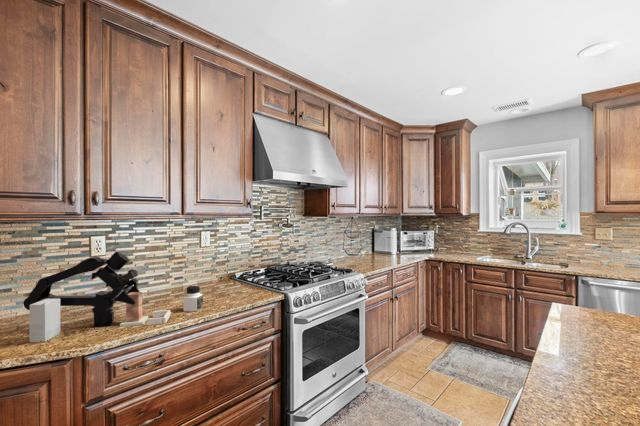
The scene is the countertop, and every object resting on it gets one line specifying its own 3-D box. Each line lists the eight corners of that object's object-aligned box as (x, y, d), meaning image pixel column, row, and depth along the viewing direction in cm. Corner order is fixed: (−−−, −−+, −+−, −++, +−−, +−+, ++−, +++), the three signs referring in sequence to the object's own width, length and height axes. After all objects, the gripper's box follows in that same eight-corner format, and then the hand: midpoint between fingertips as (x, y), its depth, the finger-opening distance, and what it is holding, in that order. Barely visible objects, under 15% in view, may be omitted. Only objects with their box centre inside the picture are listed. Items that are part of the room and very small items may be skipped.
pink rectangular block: (126, 322, 136) (126, 295, 136) (130, 318, 141) (130, 292, 141) (138, 321, 137) (138, 294, 137) (142, 317, 142) (142, 291, 142)
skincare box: (45, 334, 125) (45, 298, 125) (61, 334, 126) (61, 297, 126) (28, 343, 117) (28, 304, 117) (45, 342, 117) (45, 303, 117)
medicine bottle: (197, 311, 153) (197, 287, 153) (183, 311, 153) (183, 287, 154) (203, 307, 160) (202, 284, 160) (189, 307, 161) (189, 284, 161)
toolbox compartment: (147, 325, 135) (147, 319, 135) (153, 316, 146) (153, 311, 146) (165, 323, 137) (165, 317, 137) (170, 314, 148) (170, 309, 148)
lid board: (119, 326, 133) (119, 324, 133) (126, 320, 142) (126, 317, 142) (143, 324, 136) (143, 322, 136) (148, 317, 144) (148, 315, 144)
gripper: (115, 268, 129) (144, 292, 131) (133, 261, 147) (158, 283, 150) (94, 288, 127) (124, 312, 130) (115, 278, 146) (140, 300, 148)
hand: (138, 301), depth 139 cm, fingers open, 9 cm apart
